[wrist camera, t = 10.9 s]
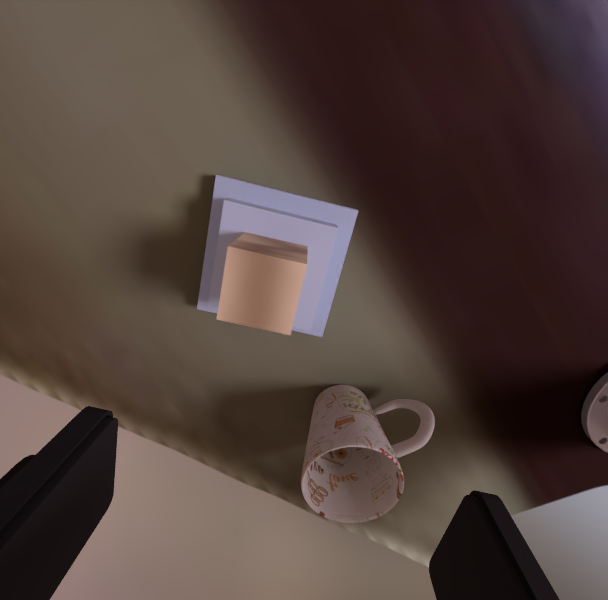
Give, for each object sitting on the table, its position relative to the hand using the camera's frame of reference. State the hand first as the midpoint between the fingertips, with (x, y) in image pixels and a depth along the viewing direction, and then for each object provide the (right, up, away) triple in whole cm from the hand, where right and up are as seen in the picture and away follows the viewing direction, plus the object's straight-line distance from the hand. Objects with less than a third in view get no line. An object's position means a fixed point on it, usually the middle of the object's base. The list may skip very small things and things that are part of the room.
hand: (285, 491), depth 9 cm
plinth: (-2, +9, +22) cm, 24 cm away
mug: (+6, -6, +27) cm, 29 cm away
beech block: (-2, +8, +18) cm, 20 cm away
